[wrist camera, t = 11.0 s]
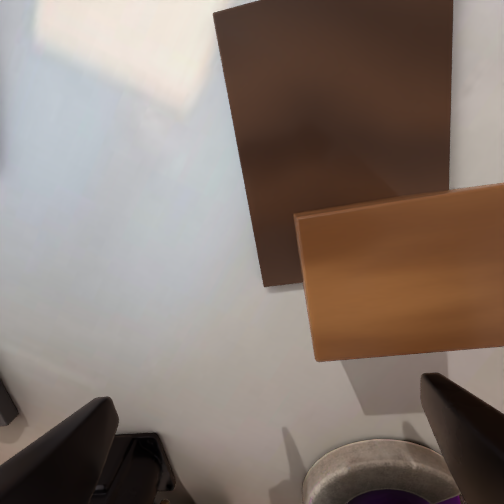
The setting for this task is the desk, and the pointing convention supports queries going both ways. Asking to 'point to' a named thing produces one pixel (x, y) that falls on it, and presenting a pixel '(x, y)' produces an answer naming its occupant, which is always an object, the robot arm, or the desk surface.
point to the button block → (6, 408)
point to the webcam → (380, 475)
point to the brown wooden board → (334, 108)
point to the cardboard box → (405, 274)
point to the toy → (164, 502)
